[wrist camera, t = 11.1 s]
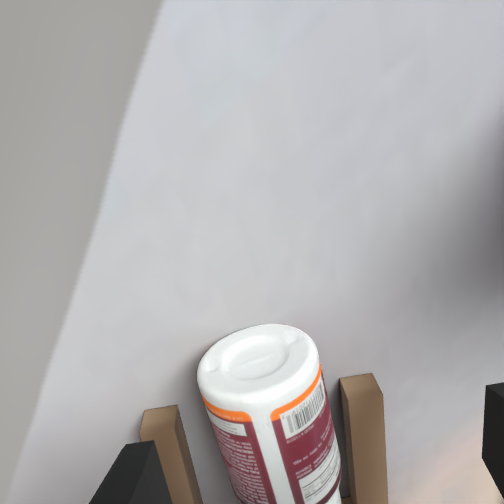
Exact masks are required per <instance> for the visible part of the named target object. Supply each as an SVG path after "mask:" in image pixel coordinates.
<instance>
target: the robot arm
mask: <svg viewBox="0 0 504 504" xmlns="http://www.w3.org/2000/svg"><path fill="white" fill-rule="evenodd" d="M482 459H483V461H484V463H485V465H486V466H487V468H488V470H489V472H490V474H491V476H492V478H493V480H494V482H495V484H496V486H497V487H498V489H499V491H500V493H501V495H502V497H503V498H504V383H497V384H491V385H486V392H485V410H484V428H483V446H482ZM89 504H173V503H172V500H171V496H170V493H169V489H168V486H167V482H166V479H165V476H164V472H163V469H162V465H161V462H160V459H159V455H158V452H157V448H156V445H155V442H154V440H150V441H144V442H138V443H132V444H126V445H125V446H124V448H123V449H122V450H121V452H120V454H119V455H118V457H117V459H116V460H115V462H114V464H113V465H112V467H111V468H110V470H109V472H108V473H107V475H106V477H105V478H104V480H103V482H102V483H101V485H100V487H99V488H98V490H97V491H96V493H95V495H94V496H93V498H92V499H91V501H90V503H89Z"/></svg>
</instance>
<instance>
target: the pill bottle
mask: <svg viewBox="0 0 504 504" xmlns="http://www.w3.org/2000/svg"><path fill="white" fill-rule="evenodd" d="M197 382H198V386H199V389H200V392H201V395H202V398H203V402H204V405H205V407H206V410H207V413H208V415H209V419H210V422H211V425H212V427H213V430H214V433H215V436H216V439H217V442H218V445H219V448H220V451H221V454H222V457H223V460H224V463H225V465H226V468H227V471H228V474H229V477H230V481H231V483H232V487H233V490H234V493H235V495H236V497H237V498H238V500H239V502H240V503H241V504H341V498H340V493H339V489H338V487H339V484H340V480H341V473H342V462H341V456H340V453H339V449H338V444H337V440H336V435H335V430H334V426H333V421H332V415H331V411H330V406H329V401H328V397H327V392H326V388H325V383H324V378H323V374H322V369H321V365H320V361H319V355H318V351H317V348H316V345H315V344H314V342H313V340H312V339H311V338H310V337H309V336H308V335H307V334H306V333H304V332H303V331H301V330H299V329H298V328H295V327H292V326H288V325H282V324H263V325H257V326H253V327H249V328H246V329H243V330H240V331H237V332H235V333H233V334H230V335H228V336H226V337H225V338H223V339H221V340H220V341H218V342H217V343H216V344H214V345H213V346H212V347H211V348H210V349H209V350H208V351H207V352H206V353H205V355H204V356H203V358H202V359H201V361H200V363H199V366H198V370H197Z"/></svg>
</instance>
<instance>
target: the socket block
mask: <svg viewBox="0 0 504 504" xmlns="http://www.w3.org/2000/svg"><path fill="white" fill-rule="evenodd" d="M340 387H341V398H342V409H343V421H344V432H345V443H346V454H347V465H348V476H349V487H350V497H345V498H341V504H388V487H387V466H386V445H385V425H384V404H383V393H382V392H381V390H380V388H379V386H378V384H377V382H376V380H375V378H374V376H373V374H372V373H370V374H363V375H357V376H351V377H345V378H340ZM139 435H140V439H141V442H144V441H150V440H154V442H155V445H156V448H157V452H158V455H159V459H160V462H161V465H162V469H163V472H164V476H165V479H166V482H167V486H168V489H169V493H170V496H171V500H172V503H173V504H203V502H202V499H201V495H200V491H199V487H198V483H197V479H196V475H195V471H194V468H193V464H192V460H191V456H190V452H189V448H188V444H187V441H186V437H185V433H184V429H183V425H182V421H181V417H180V414H179V410H178V406H177V405H174V406H168V407H162V408H156V409H150V410H145V411H144V416H143V420H142V424H141V429H140V433H139Z"/></svg>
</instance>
